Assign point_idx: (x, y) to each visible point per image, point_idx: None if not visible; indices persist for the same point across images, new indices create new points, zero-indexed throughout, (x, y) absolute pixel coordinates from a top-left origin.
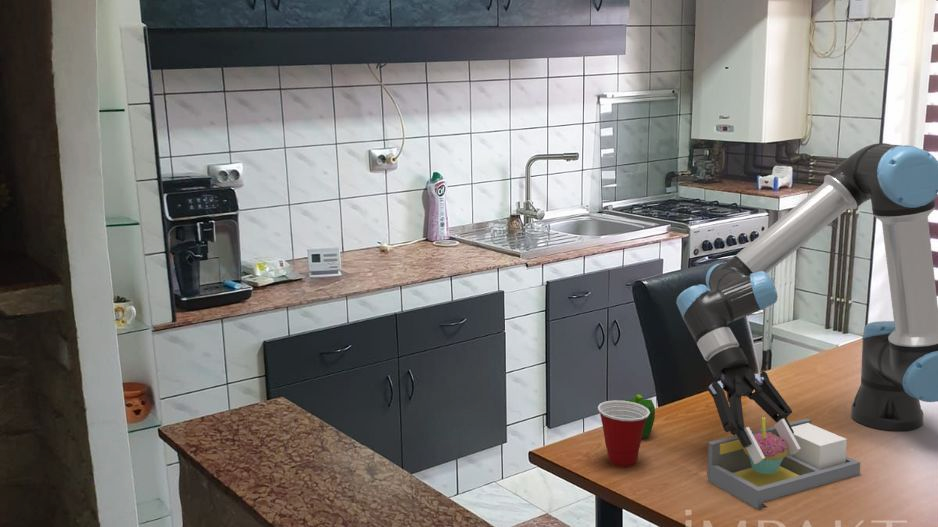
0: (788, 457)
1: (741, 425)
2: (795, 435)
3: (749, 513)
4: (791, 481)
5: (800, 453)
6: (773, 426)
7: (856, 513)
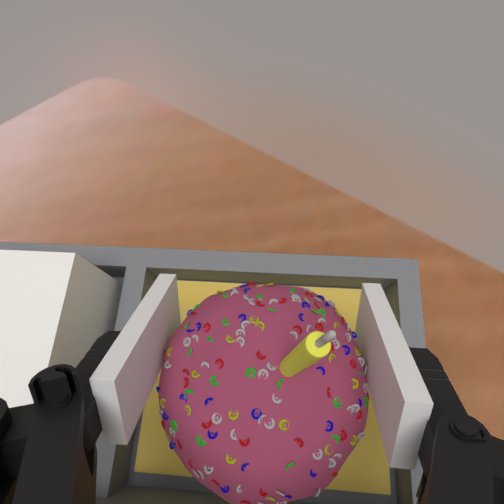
0: None
1: (471, 423)
2: None
3: (433, 273)
4: (273, 253)
5: None
6: None
7: (198, 149)
